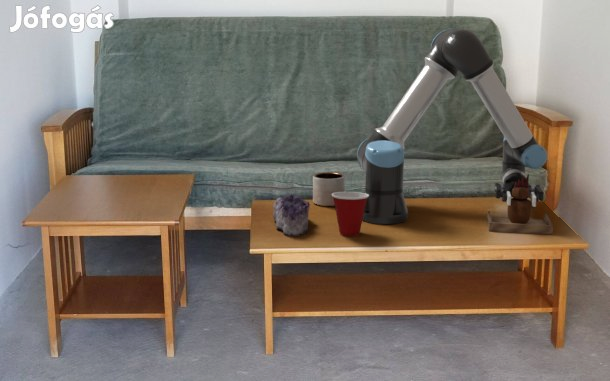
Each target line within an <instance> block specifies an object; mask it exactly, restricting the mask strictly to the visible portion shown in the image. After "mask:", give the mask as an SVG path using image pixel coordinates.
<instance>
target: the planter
mask: <svg viewBox="0 0 610 381" xmlns="http://www.w3.org/2000/svg"><path fill="white" fill-rule="evenodd" d="M345 177H346V175H345V174H344V173H340V172H334V171H333V172H332V171H330V172H329V171H328V172H325V171H324V172H318V173H314V174H313V175H312V203H314V204H315V205H316V204H317V205H316V206H319V205H320V207H326V206H331V207H335V204H334V199H333V197H332V193H336V192H346V189H345V188H346V178H345Z"/></svg>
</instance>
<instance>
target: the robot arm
mask: <svg viewBox="0 0 610 381" xmlns="http://www.w3.org/2000/svg"><path fill="white" fill-rule="evenodd" d="M488 52H489V51H487V49H486V47H485V46H484V44H483V42H482V41H481V39H480V38H479V37H478V35H477V34H475V32H473V31H471V30H469V29H464V28H463V29H462V28H460V29H459V28H447V29H445V30H442V31H440V32H439V33H438V34H436V36H435V37H434V38H433V40H432V42H431V44H430V49H429V51H428V52H427V53H426V55H424V56H425V57H424V66H423V68H422V69H421V71H420V72H419V73H418V74H417V76H416V77H415V79H414V81H413V82H412V83H411V85H410V87H409V88H408V89H407V90H406V92H405V93H404V95H403V97H402V98H401V99H400V101H399V102H398V103H397V105H396V106H395V108H394V109H393V110H392V113H391V114H390V115H389V116H388V118H387V119H386V121H385V122H384V124H383V125H382V126H381V127H377V128H374V129H373V131H372V133H371V134H370V135H369V137H367V138H366V139H364V140H363V141H362V142H361V143H360V144H359V146H358V148H357V152H356V157H357V161H358V163H357V164H358V166H360V167H359V168H360V169H361V170H362V171H364V173H365V178H364V179H365V182H364V183H365V184H364V186H365V188H364V189H365V191H364V192H365V193H366V194H369V197H368V198H367V201H366V205H365V209H364V214H363V220H362V222H363V221H364V222H367V223H369V224H370V223H371V224H376V225H377V224H378V225H393V224H395V225H396V224H400V223H404V222H405V221H407V220H408V219H409V211H408V210H409V209H408V207H407V204H406V199H405V197H404V169H405V168H404V166H405V165H404V163H405V161H404V160H405V153H404V151H405V149H406V148H405V141H406V140H407V138H408V136H410V134H411V133H412V131H413V129H414V128H415V127H416V125H417V124H418V122H419V121H420V120H421V118H422V117H423V116H424V114H425V113H426V111H427V110H428V108H429V107H430V105H431V104H432V103H433V101H434V100H435V99H436V97H437V95H438V94H439V93H440V91H441V90H442V89H443V87H444V86H445V84H446V83H447V81H449V80H453V79H454V80H455V79H456V77H457V75H458V74H459V73H460V74H461V75H462V77H463V79H464V81H466V82H470V83H471V85H472V87H473V88H474V89H475V91H476V93H477V95H478V96H479V98H480V99H481V102H482V103H483V105H484V106H485V108H486V109H487V111H488V113H489V114H490V115H491V117H492V119H493V120H494V123H495V124H496V126H497V127H498V129H499V130H500V132H501V133H502V135H503V141H502V143H503V144H502V145H503V146H502V163H501V170H500V179H501V182H502V184H501V183H499V182H495V183H494V192H495V198H496V199H498V200H499V199H501V198H502V199H501V201H502V202H504V203H507V206H508V205H509V206H510V205H511V199H512V198H513V197H512V189H513V188H514V186H515V182H517V184H518V180H519V179H520V184H521V180H522V176H523V177H524V184H525V181H526V178H527V175H526V168H529V169H533V170H536V169H540V168H541V167H543V166H544V165H545V164H546V162H547V160H548V152H547V150H546V149H545V147H543V146H542V145H540V144H539V143H538V141H537V139H536V137H535V136H534V135H533V133H532V132H531V130H530V128H529V127H528V125H527V123H526V121H525V120H524V118H523V116H522V115H521V113H520V111H519V110H518V108H517V107H516V104H515V103H514V102H513V99H512V98H511V96H510V95H509V93H508V91H507V89H506V88H505V86H504V85H503V83H502V82H501V80H500V78H499V76H498V74H497V73H496V71H495V70H494V64H495V63H494V61H493V59H492V57H491V55H490V54H489V53H488ZM528 189H529V197H528V198H529V200H530V202H531V204H532V207H535V208H536V207H537V202H540V201H543V200H544V196H545V195H544V191H543V190H542V188H541V185H540V184H536V185H533V186H532V185H531V184H529V182H528Z"/></svg>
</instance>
